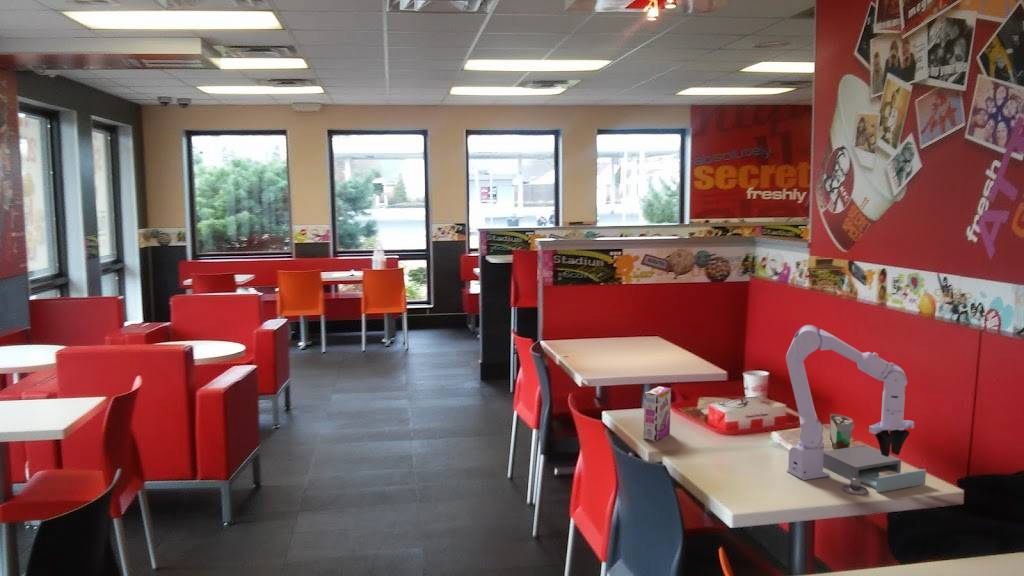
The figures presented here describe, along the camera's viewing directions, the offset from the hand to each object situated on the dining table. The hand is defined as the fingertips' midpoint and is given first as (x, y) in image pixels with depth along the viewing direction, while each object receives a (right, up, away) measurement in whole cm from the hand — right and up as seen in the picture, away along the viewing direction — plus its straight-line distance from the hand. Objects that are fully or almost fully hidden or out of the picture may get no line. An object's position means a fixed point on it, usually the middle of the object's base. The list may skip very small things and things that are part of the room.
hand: (890, 454), depth 229 cm
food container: (-2, -5, +29) cm, 29 cm away
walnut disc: (0, -7, +1) cm, 7 cm away
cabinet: (-4, -7, +11) cm, 14 cm away
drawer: (-1, -8, +3) cm, 8 cm away
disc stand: (-12, -9, -4) cm, 16 cm away
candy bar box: (-59, -3, +43) cm, 73 cm away
